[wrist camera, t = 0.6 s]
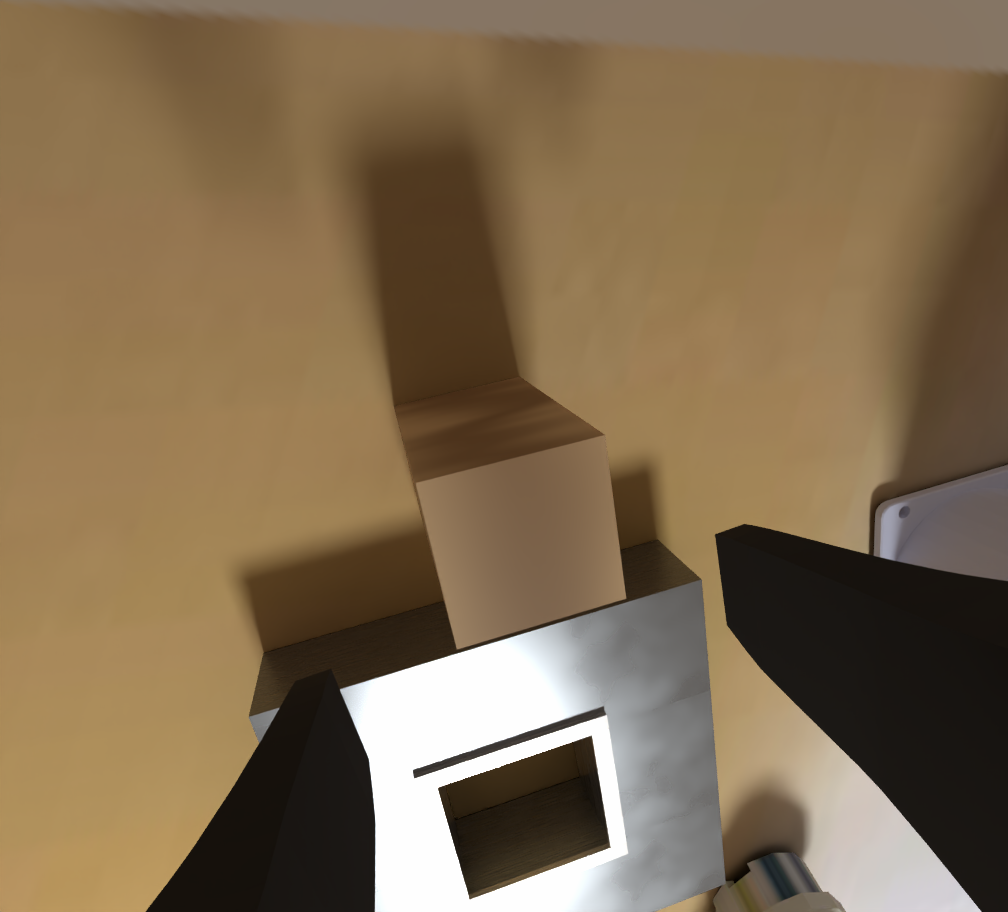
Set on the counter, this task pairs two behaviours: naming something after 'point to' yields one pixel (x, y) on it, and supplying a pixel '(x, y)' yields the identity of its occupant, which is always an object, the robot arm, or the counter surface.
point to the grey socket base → (535, 750)
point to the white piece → (776, 888)
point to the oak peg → (512, 507)
